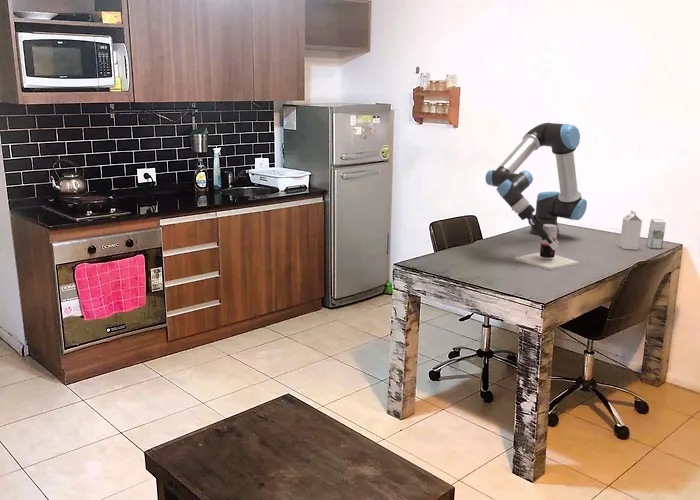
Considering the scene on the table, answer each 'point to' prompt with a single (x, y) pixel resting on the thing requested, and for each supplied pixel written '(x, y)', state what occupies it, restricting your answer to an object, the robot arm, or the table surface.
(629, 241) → the milk carton
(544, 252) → the beverage can
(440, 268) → the table surface
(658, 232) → the syrup box
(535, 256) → the ceramic tile
